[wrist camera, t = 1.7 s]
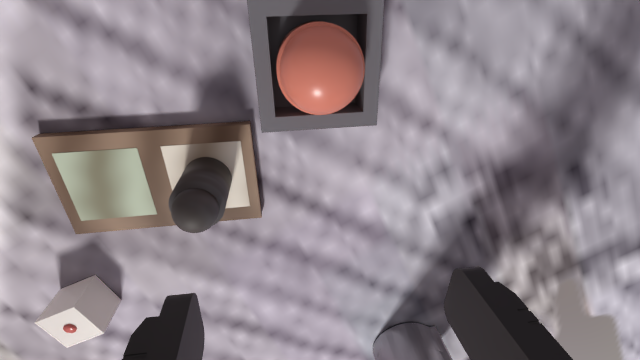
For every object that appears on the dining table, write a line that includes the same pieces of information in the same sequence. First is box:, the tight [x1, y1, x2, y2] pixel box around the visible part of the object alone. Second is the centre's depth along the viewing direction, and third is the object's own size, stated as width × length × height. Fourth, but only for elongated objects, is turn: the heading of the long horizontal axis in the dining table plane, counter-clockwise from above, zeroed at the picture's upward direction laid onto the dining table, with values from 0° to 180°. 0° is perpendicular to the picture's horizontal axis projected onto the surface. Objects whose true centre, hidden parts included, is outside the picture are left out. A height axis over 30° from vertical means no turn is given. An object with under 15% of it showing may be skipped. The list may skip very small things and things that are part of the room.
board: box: [32, 121, 262, 234], centre depth 31 cm, size 18×10×1 cm, turn 91°
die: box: [35, 275, 121, 348], centre depth 35 cm, size 4×4×4 cm
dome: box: [276, 21, 365, 115], centre depth 23 cm, size 6×6×6 cm
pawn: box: [168, 157, 232, 233], centre depth 28 cm, size 4×4×7 cm
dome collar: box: [247, 0, 384, 133], centre depth 26 cm, size 10×10×4 cm
